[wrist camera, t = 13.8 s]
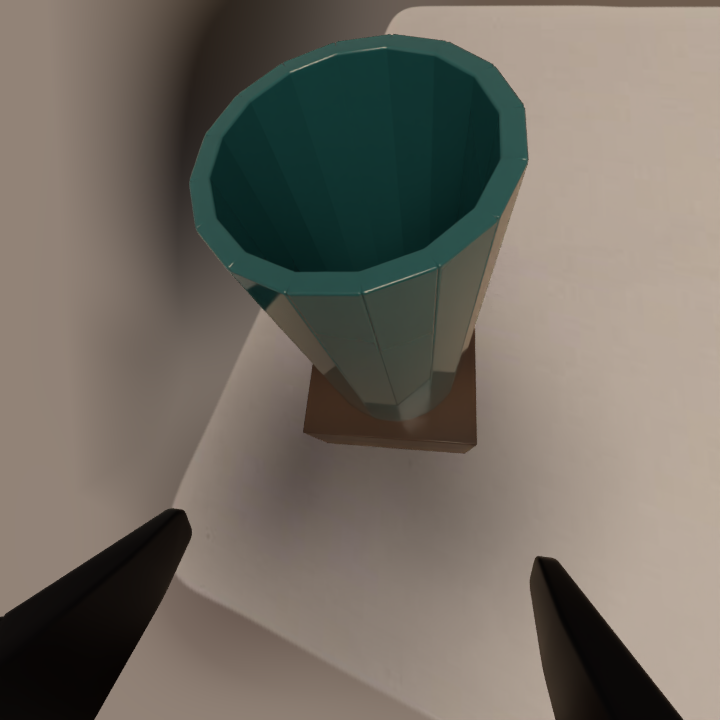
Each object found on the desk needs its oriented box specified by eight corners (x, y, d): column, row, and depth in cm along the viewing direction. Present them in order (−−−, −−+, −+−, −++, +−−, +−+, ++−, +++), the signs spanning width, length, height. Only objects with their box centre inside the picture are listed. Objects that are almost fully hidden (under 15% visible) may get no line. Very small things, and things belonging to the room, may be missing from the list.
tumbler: (458, 426, 17) (538, 296, 5) (324, 416, 19) (149, 293, 7) (460, 302, 20) (519, 14, 8) (340, 301, 21) (230, 54, 9)
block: (465, 453, 22) (477, 445, 17) (326, 443, 23) (302, 432, 19) (464, 322, 25) (474, 285, 20) (340, 321, 26) (323, 286, 22)
